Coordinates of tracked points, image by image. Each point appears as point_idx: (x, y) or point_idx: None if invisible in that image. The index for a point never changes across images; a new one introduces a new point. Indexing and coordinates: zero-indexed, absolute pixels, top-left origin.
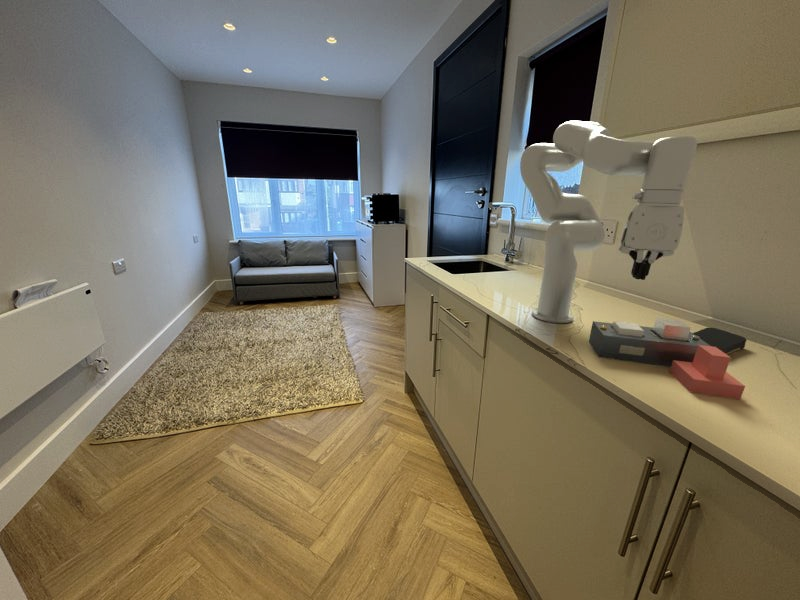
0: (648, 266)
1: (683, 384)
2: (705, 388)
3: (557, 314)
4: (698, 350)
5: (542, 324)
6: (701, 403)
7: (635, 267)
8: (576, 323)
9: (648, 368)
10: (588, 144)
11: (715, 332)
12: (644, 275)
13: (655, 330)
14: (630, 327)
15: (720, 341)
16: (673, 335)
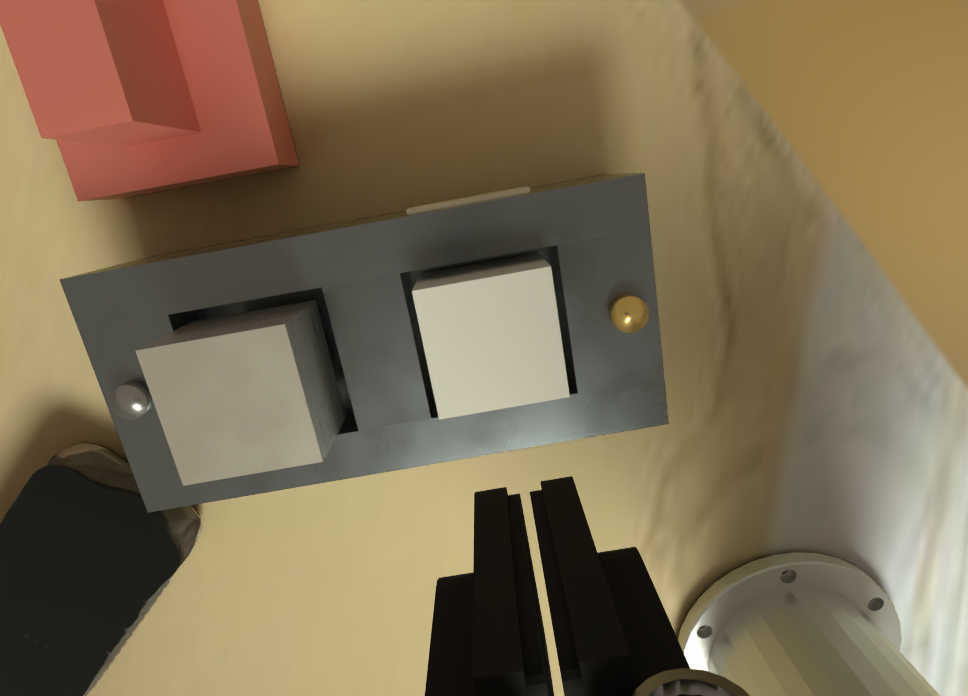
0: (475, 625)
1: (261, 19)
2: None
3: (789, 608)
4: (143, 105)
5: (845, 505)
6: None
7: (665, 623)
8: None
9: (388, 156)
10: None
11: (30, 683)
12: (496, 515)
13: (332, 395)
14: (484, 313)
15: (25, 575)
16: (247, 319)
